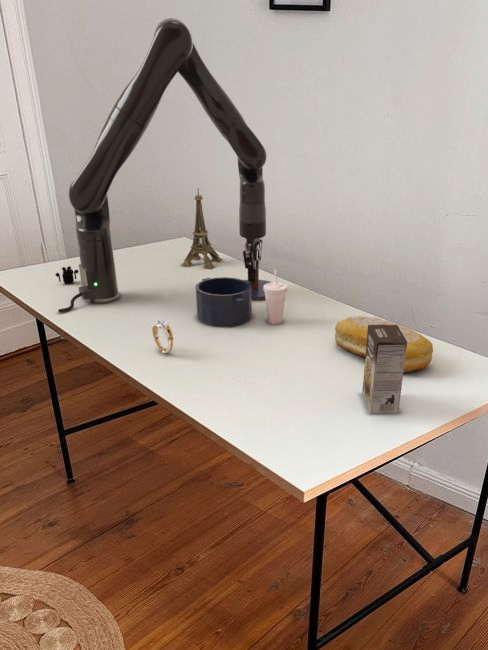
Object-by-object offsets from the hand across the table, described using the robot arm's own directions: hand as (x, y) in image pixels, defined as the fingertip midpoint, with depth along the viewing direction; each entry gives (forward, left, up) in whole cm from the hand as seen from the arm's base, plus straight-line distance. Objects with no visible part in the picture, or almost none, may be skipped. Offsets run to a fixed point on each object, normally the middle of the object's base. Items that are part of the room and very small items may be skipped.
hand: (253, 279), depth 201 cm
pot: (-17, -13, -4) cm, 22 cm away
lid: (0, 0, -3) cm, 3 cm away
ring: (-41, -26, -4) cm, 49 cm away
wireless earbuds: (-44, +35, -4) cm, 56 cm away
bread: (+3, -55, -4) cm, 55 cm away
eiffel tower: (0, +33, -4) cm, 33 cm away
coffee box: (-13, -74, -4) cm, 75 cm away
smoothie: (-7, -23, -4) cm, 24 cm away
